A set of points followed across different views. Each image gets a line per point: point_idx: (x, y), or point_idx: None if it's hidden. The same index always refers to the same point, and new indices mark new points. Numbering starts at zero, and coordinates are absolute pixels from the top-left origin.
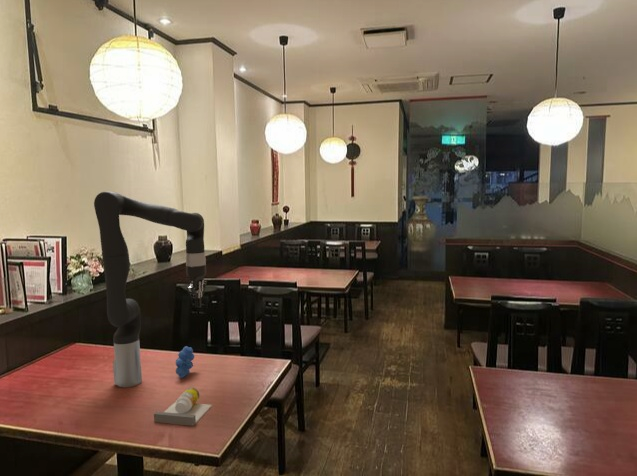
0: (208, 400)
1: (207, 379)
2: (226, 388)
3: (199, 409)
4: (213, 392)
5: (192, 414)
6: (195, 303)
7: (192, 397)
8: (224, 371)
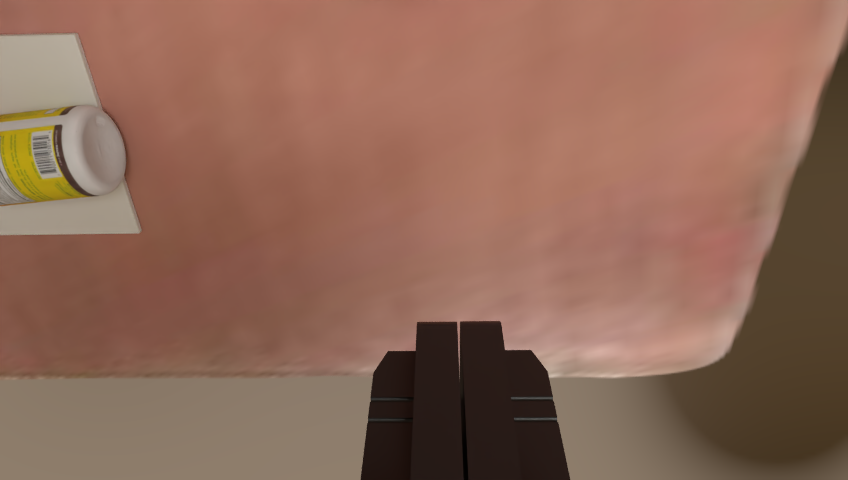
0: (182, 191)
1: (415, 64)
2: (332, 218)
3: (74, 200)
4: (268, 176)
5: None
6: (374, 417)
7: (23, 203)
8: (550, 115)
